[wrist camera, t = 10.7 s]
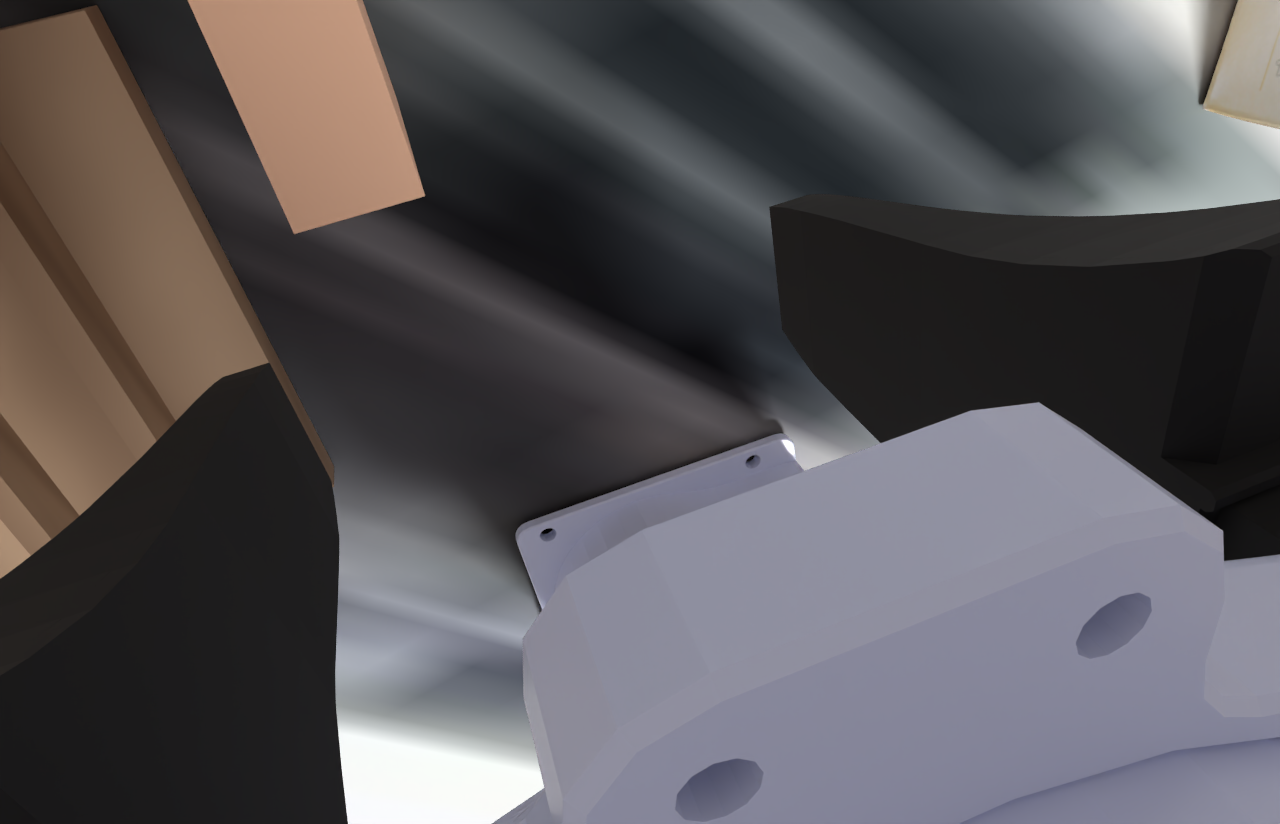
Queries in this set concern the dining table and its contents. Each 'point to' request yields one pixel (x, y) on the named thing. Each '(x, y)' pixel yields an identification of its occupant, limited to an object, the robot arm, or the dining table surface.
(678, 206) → the dining table surface
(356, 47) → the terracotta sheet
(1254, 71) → the coffeecake box
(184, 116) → the dining table surface
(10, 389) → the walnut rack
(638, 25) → the dining table surface
